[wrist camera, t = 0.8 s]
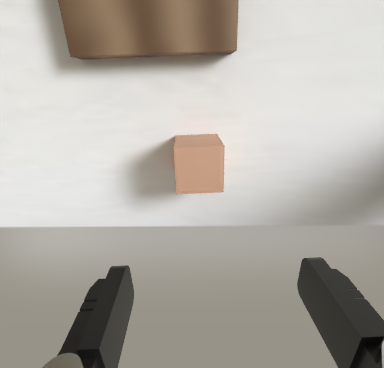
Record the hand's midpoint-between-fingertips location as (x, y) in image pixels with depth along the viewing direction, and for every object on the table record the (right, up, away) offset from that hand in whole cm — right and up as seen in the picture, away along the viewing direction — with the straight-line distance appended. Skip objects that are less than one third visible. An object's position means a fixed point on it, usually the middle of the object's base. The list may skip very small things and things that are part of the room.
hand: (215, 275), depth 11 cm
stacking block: (0, +8, +18) cm, 20 cm away
